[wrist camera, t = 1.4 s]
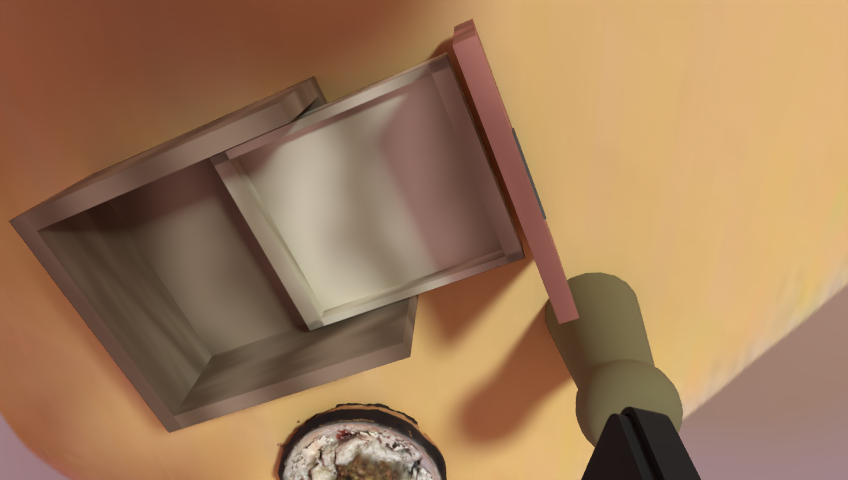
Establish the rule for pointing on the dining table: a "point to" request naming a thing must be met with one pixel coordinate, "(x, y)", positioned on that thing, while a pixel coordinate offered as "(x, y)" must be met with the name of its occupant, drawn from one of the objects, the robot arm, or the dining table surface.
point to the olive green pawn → (610, 355)
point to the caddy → (198, 278)
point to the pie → (361, 447)
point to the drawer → (393, 192)
